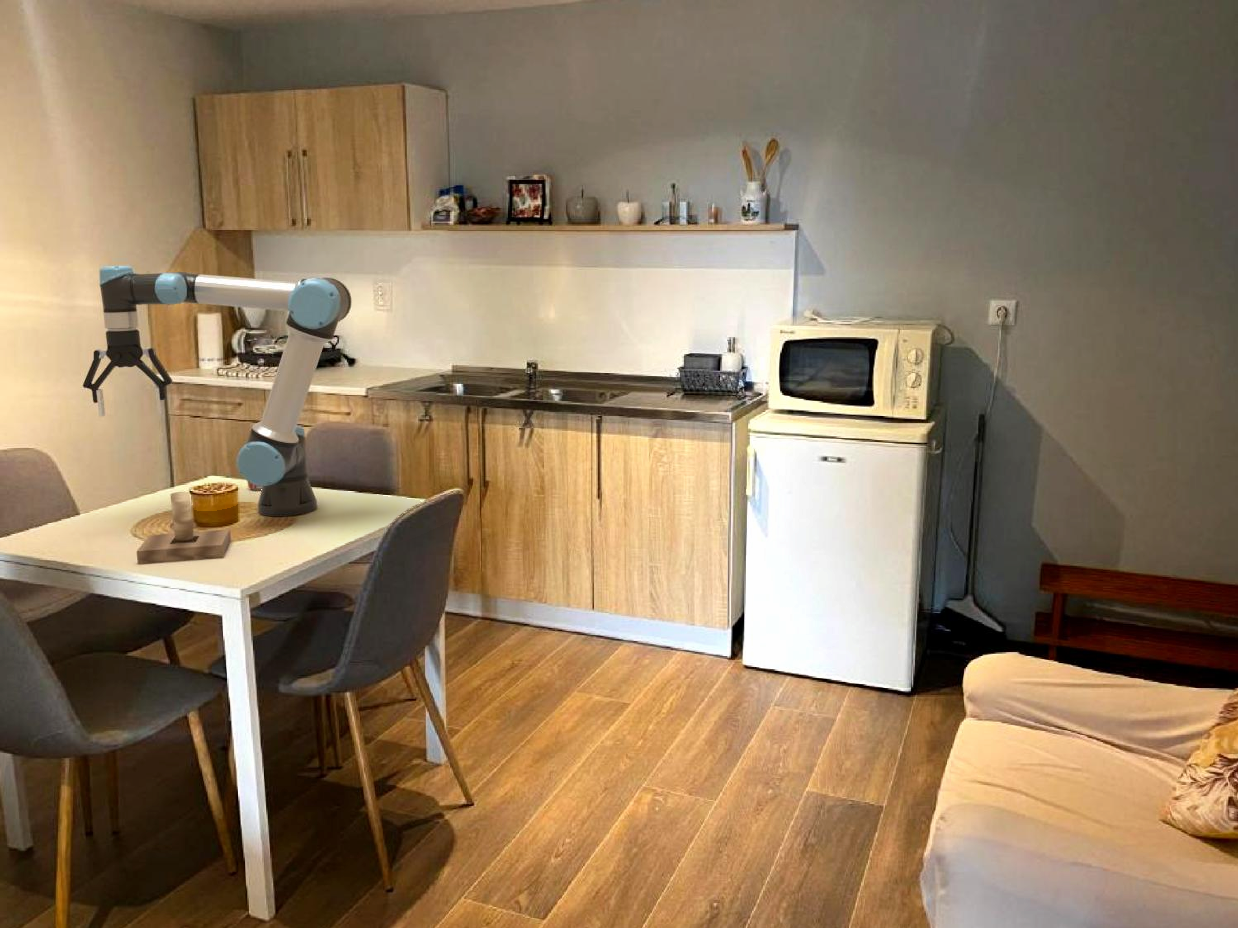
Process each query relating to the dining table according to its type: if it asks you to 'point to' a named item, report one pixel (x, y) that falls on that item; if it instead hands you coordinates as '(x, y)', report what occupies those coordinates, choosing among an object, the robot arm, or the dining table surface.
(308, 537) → the dining table surface
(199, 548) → the board
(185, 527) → the peg
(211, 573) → the dining table surface
